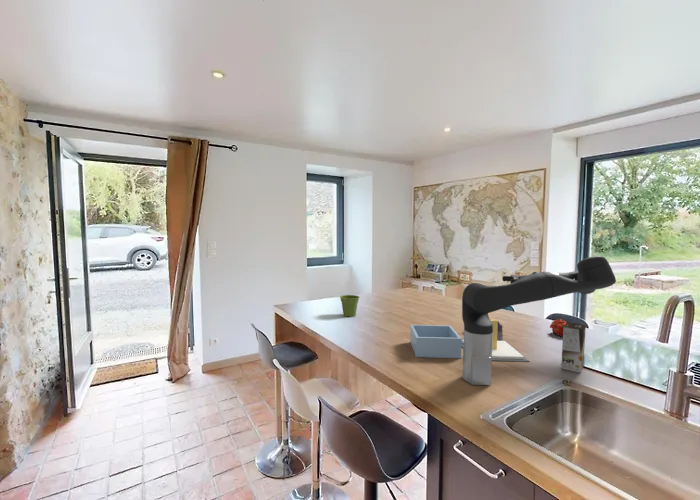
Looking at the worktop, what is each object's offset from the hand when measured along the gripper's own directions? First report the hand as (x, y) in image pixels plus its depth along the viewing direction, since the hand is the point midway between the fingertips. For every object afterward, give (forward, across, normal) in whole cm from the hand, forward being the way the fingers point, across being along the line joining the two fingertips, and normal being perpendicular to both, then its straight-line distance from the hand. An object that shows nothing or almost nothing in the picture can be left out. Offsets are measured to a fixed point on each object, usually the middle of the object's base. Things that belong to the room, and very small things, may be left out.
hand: (506, 280), depth 146 cm
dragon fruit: (-36, -20, +30) cm, 51 cm away
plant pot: (+70, -49, +30) cm, 91 cm away
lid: (+7, +4, +30) cm, 31 cm away
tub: (+31, +4, +30) cm, 43 cm away
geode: (+1, -18, +30) cm, 35 cm away
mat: (+7, +4, +30) cm, 31 cm away
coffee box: (-18, +19, +30) cm, 40 cm away
